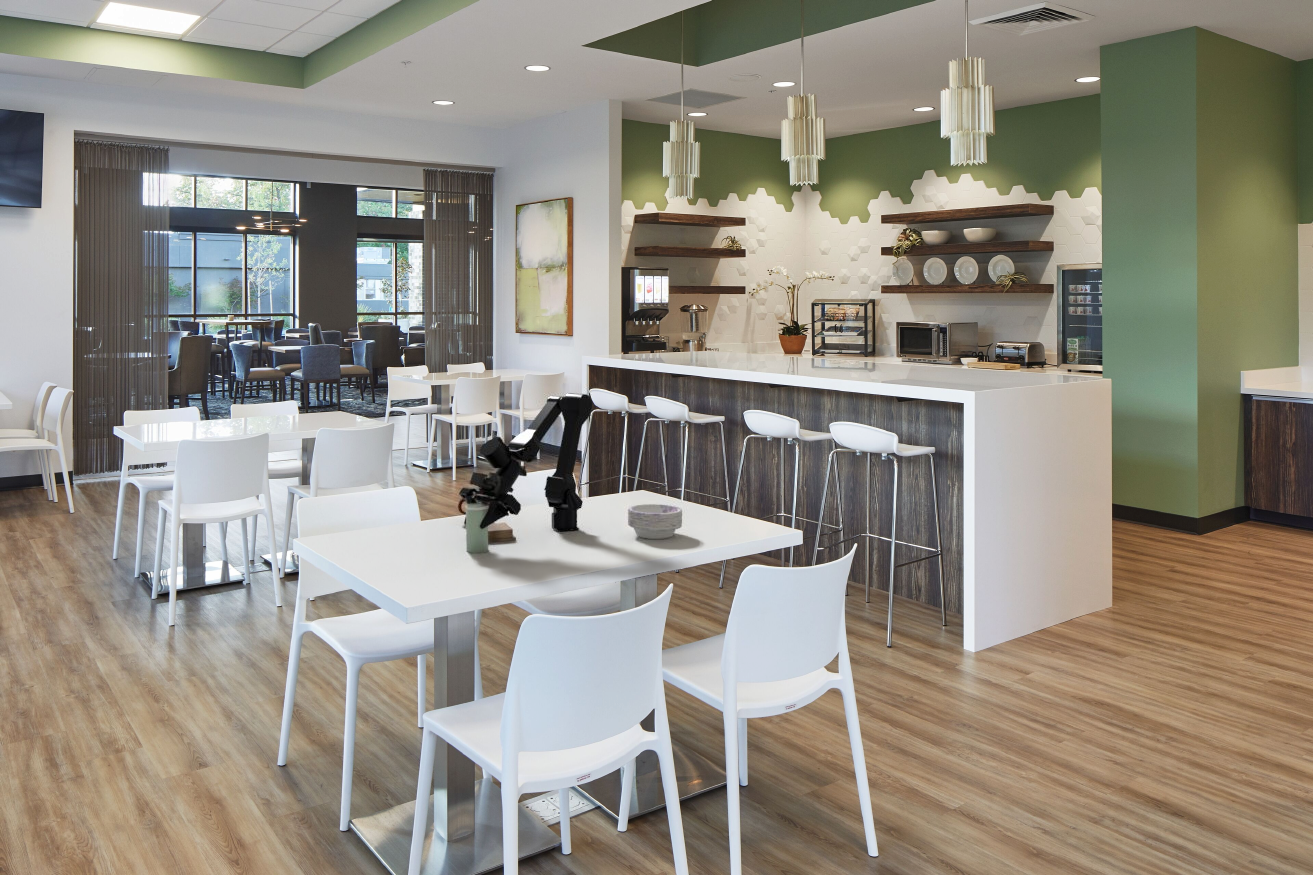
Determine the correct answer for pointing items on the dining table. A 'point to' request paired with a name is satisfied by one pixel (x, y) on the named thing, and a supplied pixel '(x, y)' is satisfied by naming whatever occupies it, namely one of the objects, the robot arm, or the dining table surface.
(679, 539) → the dining table surface
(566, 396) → the robot arm
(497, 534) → the pedestal
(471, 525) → the tumbler
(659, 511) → the paper bowls
